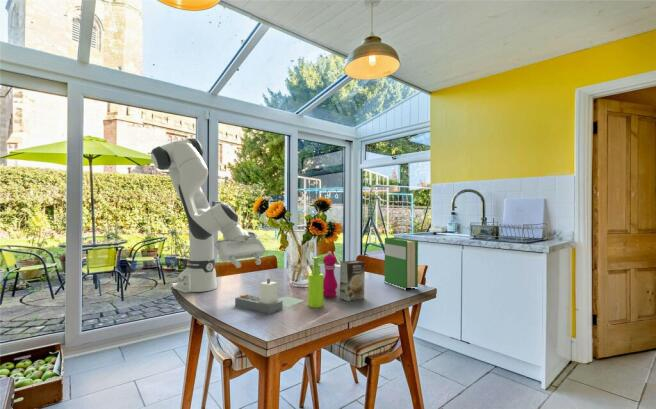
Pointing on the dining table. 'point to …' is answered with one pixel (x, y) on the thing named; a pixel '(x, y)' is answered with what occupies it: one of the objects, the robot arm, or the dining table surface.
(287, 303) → the rubber mat
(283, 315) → the dining table surface
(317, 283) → the soap dispenser
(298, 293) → the dining table surface
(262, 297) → the white pillar candle
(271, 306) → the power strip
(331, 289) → the pepper mill
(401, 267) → the hardback book
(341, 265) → the coffee box
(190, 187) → the robot arm
